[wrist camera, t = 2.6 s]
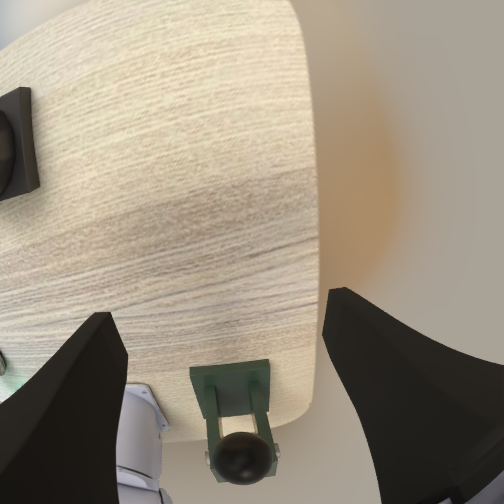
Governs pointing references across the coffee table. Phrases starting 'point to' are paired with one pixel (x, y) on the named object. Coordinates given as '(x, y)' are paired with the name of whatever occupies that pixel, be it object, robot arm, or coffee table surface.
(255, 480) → the switch lever
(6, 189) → the switch box
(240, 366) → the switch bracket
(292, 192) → the coffee table surface
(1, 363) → the pocket watch
